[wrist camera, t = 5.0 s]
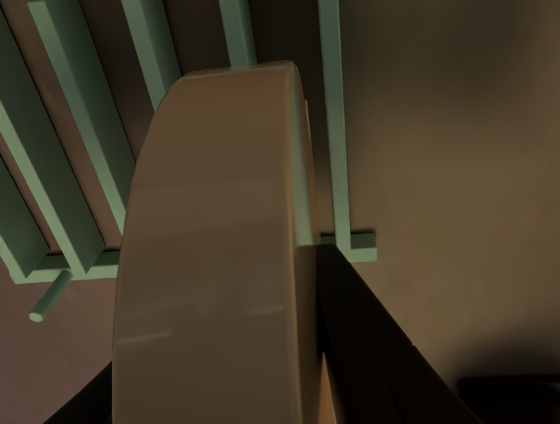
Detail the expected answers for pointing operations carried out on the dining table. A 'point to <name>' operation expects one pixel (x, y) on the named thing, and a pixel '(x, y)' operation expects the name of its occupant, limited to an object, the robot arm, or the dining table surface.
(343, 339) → the robot arm
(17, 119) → the rack
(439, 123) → the dining table surface
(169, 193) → the plate
